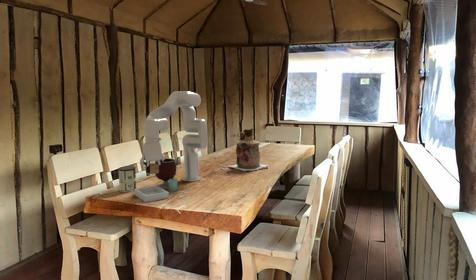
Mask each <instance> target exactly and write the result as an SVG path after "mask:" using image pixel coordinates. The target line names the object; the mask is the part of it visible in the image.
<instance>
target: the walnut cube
mask: <svg viewBox="0 0 476 280" xmlns="http://www.w3.org/2000/svg"><path fill="white" fill-rule="evenodd" d="M149 167H150V173H148V174H149V175H155V174H156V173H159V164H156V163H155V162H154V163H149Z"/></svg>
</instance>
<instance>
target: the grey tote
mask: <svg viewBox="0 0 476 280" xmlns="http://www.w3.org/2000/svg"><path fill="white" fill-rule="evenodd" d="M134 190H135V191H134V195H135V197H137V198H139V199H140V200H141V201H143V202H144V203H148V202H153V201H160V200H165V199H169V198H170V197H169V196H170V195H169V193H170V191H167V190H165V189H162V188H160V187H159V186H156V185H152V186H144V187H138V188H137V187H136V189H134Z"/></svg>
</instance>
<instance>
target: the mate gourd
mask: <svg viewBox="0 0 476 280" xmlns="http://www.w3.org/2000/svg"><path fill="white" fill-rule="evenodd" d="M154 163H156V164H157V162H156V161H154ZM154 175H155V176H156V178H157V179H158V180H161V181H163V182H162V183H158V184H156V185H155V186H159V187H160V188H163V189H164V190H165V189H166V188H167V189H169V179H172V178H175V176H176V175H177V161H176V159H175V158H168V157H167V158H166V157H165V160H164V161H163V162H162V163H161V165H160V170H159V173H156V174H154Z"/></svg>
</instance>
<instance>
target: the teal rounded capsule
mask: <svg viewBox="0 0 476 280" xmlns="http://www.w3.org/2000/svg"><path fill="white" fill-rule="evenodd" d="M168 182H169V188H168V192H177V191H178V178H175V177H174V178H172V179H169V180H168Z"/></svg>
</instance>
